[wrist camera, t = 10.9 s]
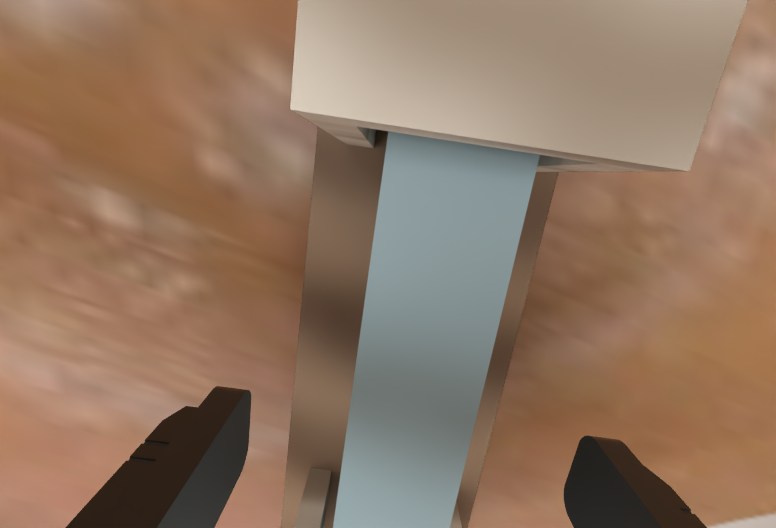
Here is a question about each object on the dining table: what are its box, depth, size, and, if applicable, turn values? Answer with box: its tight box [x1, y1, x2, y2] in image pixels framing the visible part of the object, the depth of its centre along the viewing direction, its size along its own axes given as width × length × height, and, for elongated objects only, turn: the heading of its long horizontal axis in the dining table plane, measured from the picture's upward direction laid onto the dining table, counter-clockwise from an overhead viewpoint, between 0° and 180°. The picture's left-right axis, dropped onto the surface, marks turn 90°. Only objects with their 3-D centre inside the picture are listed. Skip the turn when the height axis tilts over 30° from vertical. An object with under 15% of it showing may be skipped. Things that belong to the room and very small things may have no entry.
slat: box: [333, 131, 540, 528], centre depth 13 cm, size 20×4×5 cm, turn 172°
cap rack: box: [281, 0, 748, 528], centre depth 12 cm, size 24×9×9 cm, turn 172°
